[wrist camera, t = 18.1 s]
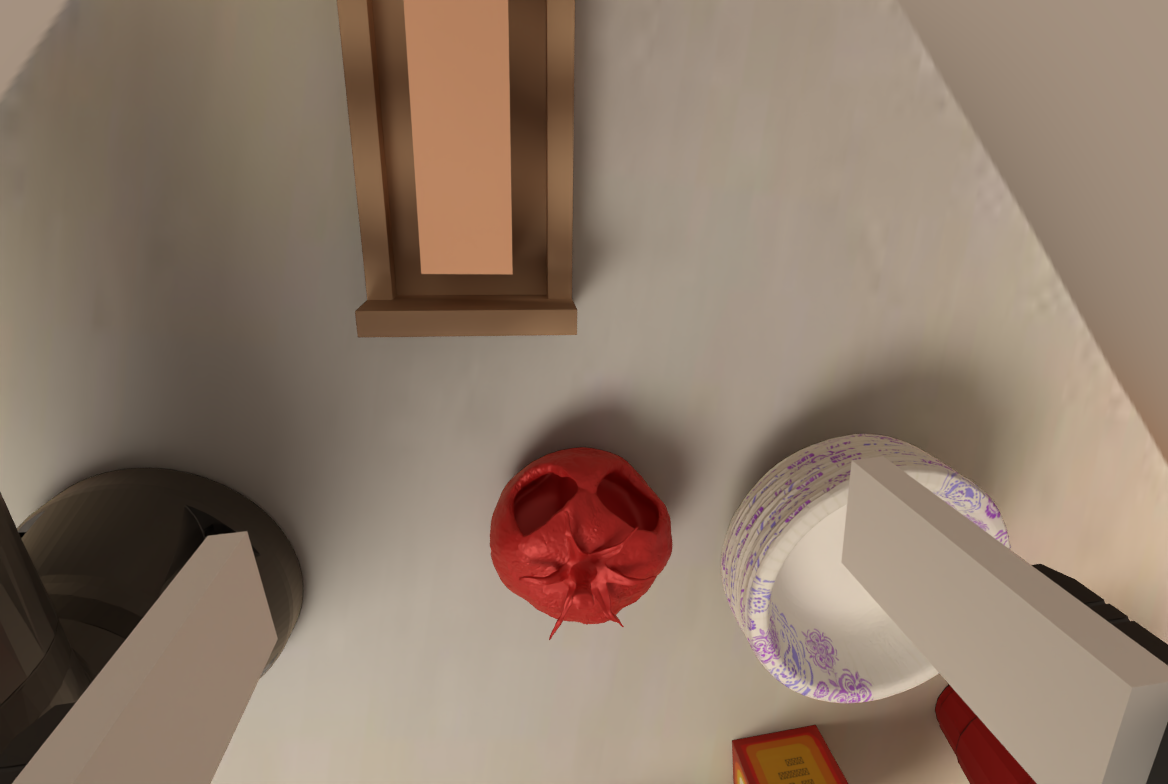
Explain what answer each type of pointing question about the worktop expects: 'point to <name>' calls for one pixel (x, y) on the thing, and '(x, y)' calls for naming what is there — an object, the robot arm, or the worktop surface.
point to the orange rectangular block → (461, 133)
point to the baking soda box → (785, 759)
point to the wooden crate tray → (537, 181)
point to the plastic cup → (976, 744)
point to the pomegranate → (579, 535)
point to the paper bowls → (829, 572)
